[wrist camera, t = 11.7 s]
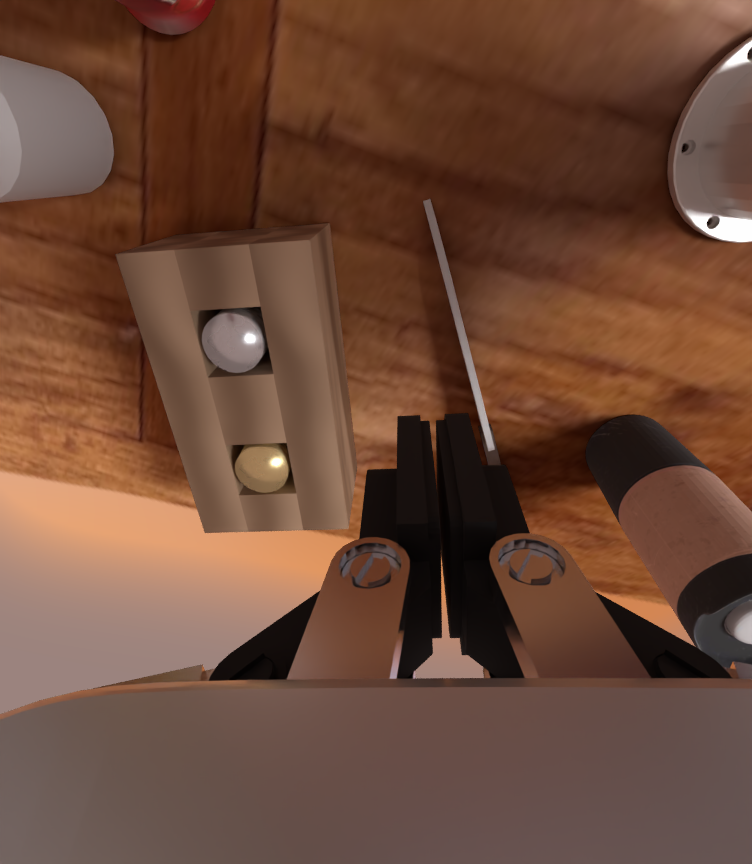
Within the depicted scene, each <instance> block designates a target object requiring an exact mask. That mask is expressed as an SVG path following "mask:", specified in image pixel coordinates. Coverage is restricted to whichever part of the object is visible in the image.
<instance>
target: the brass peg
mask: <svg viewBox="0 0 752 864" xmlns="http://www.w3.org/2000/svg"><path fill="white" fill-rule="evenodd" d="M290 469H291V463H290V458H289V453H288V447H287V443H268V444H245V446H244V448H243V449H242V451H241V453H240V455H239V457H238V458H237V460H236V463H235V472H236V475H237V477H238V479H239V480H240V481H241V483H242V484H244V485H245V486H246V487H248V488H249V489H251V490H254V491H257V492H262V493H268V492H273V491H276V490H278V489H280V488H281V487H282V486H283V485H284V484H285V482H286V480H287V477H288V475H289V472H290Z"/></svg>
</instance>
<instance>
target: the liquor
mask: <svg viewBox="0 0 752 864" xmlns="http://www.w3.org/2000/svg"><path fill="white" fill-rule="evenodd" d="M115 1H117V2H119V3H121V4H123V5H124V6H125V7H126V8H127V9H128V11H129V12H130V13H131V14H132V15H133V16H134V17H135V18H136V19H137V20H138V21H139V22H141V23H142V24H144V25H145V26H147V27H148V28H150V29H152V30H155V31H157V32H159V33H164V34H169V35H175V34H183V33H186V32H189V31H192V30H193V29H194V28H196V27H197V26H199V25H200V24H201V23H202V22H203V21H204V20H205V19H206V17H207V16H208V15H209V13H210V11H211V9H212V8H213V6H214V3H215V0H115Z"/></svg>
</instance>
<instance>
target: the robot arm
mask: <svg viewBox="0 0 752 864" xmlns="http://www.w3.org/2000/svg"><path fill="white" fill-rule="evenodd" d="M748 52H749V57H748V59H747V53H748ZM683 144H684V145H685V149H684V151H683V152H682V146H683ZM667 175H668V183H669V191H670V194H671V197H672V200H673V203H674V205H675V208H676V209H677V211H678V212H679V214H680V215H681V217H682V218H683V220H684V221H685V222H686V223H688V224H689V225H690V226H691V227H692V228H693V229H694V230H696V231H698V232H700V233H701V234H703V235H705V236H707V237H710V238H714V239H717V240H721V241H727V242H735V243H745V242H752V37H750V38H748V39H747V40H745V41H744V42H743V43H741V44H740V45H739V46H737V47H736V48H735V49H733V50H732V51H730V52H729V53H728V54H727V55H726V56H725V57H724V58H723V59H722V60H720V61H719V62H718V63H717V64H716V65H715V66H714V67H713V68H712V69H711V70H710V71H709V72H708V74H707V75H706V76H705V78H704V79H703V80H702V82H701V83H700V84H699V85H698V87H697V88H696V89H695V91H694V92H693V94H692V96H691V97H690V99H689V101H688V103H687V104H686V106H685V108H684V109H683V111H682V113H681V116H680V118H679V121H678V123H677V126H676V128H675V131H674V133H673V137H672V141H671V146H670V150H669V154H668V170H667ZM708 219H709V222H708V224H706V223H707V221H708ZM436 452H437V488H436V479H435V469H434V460H433V451H432V442H431V433H430V423H429V421H420V415H416V416H398V427H397V469H373V470H367V475H366V484H365V493H364V502H363V511H362V520H361V529H360V538H359V539H358V540H354V541H352V542H350V543H348V544H347V545H345V546H343V547H342V548H341V549H340V550H339V551H338V552H337V553H336V554H335V556H334V558H333V559H332V561H331V564H330V566H329V569H328V572H327V574H326V577H325V580H324V582H323V585H322V588H321V590H320V591H319V592H317V593H316V594H314V595H313V596H312V597H310V598H309V599H307V600H306V601H304V602H303V603H302V604H300V605H299V606H298V607H296V608H294V609H293V610H292V611H290V612H289V613H287V614H286V615H284V616H283V617H282V618H280V619H279V620H277V621H276V622H274V623H273V624H272V625H270V626H269V627H267V628H266V629H264V630H263V631H262V632H260V633H259V634H257V635H256V636H255V637H253V638H252V639H250V640H249V641H248V642H246V643H245V644H243V645H242V646H240V647H239V648H237V649H236V650H234V651H233V652H232V653H230V654H229V655H228V656H227V657H226V658H225V659H223V661H222V662H220V663H219V664H218V666H217V667H216V668H215V669H210V670H206V671H205V669H204V667H203V665H198V666H193V667H189V668H184V669H180V670H175V671H170V672H166V673H162V674H157V675H153V676H148V677H143V678H139V679H134V680H130V681H125V682H120V683H116V684H112V685H107V686H102V687H98V688H93V689H88V690H81V691H76V692H72V693H68V694H64V695H60V696H55V697H51V698H47V699H43V700H39V701H37V702H34V703H31V704H28V705H25V706H22V707H20V708H17V709H14V710H11V711H8V712H5V713H2V714H0V864H752V665H751V664H745V663H740V662H734V661H733V662H732V665H731V667H730V668H727V667H722V666H721V665H720V664H719V663H718V662H717V661H716V660H715V659H713V658H712V657H710V656H709V655H707V654H706V653H704V652H703V651H701V650H700V649H698V648H696V647H695V646H693V645H691V644H689V643H687V642H685V641H683V640H682V639H680V638H678V637H676V636H675V635H673V634H671V633H669V632H667V631H665V630H664V629H662V628H660V627H658V626H656V625H654V624H653V623H651V622H649V621H647V620H645V619H644V618H642V617H640V616H638V615H636V614H635V613H633V612H631V611H629V610H627V609H625V608H624V607H622V606H620V605H618V604H616V603H614V602H612V601H611V600H609V599H607V598H606V597H604V596H602V595H600V594H598V593H596V592H595V591H594V590H593V588H592V587H591V585H590V584H589V582H588V581H587V579H586V577H585V576H584V574H583V573H582V571H581V570H580V568H579V567H578V565H577V564H576V562H575V561H574V559H573V558H572V556H571V555H570V554H569V553H568V551H567V550H566V549H565V548H564V547H563V546H561V545H560V544H558V543H557V542H555V541H554V540H551V539H549V538H546V537H544V536H541V535H535V534H530V532H529V530H528V527H527V524H526V521H525V518H524V515H523V512H522V509H521V507H520V504H519V501H518V498H517V495H516V492H515V489H514V486H513V484H512V481H511V478H510V475H509V472H508V469H507V467H506V465H482V463H481V459H480V456H479V452H478V448H477V444H476V441H475V437H474V433H473V430H472V426H471V422H470V418H469V415H468V413H460V414H445V418H444V420H436ZM441 556H442V566H443V576H444V584H445V595H446V605H447V615H448V624H449V633H450V638H460V644H461V652H462V655H469V656H470V657H471V658H473V659H474V660H475V661H476V662H478V663H479V664H480V665H481V666H483V674H484V678H446V679H445V678H444V679H443V678H438V679H437V678H433V679H432V678H431V679H416V669H417V668H418V667H419V666H420V665H421V664H422V663H423V662H425V661H426V660H427V659H428V658H429V657H430V656H431V655H432V653H433V647H432V638H442V621H441V620H442V615H441V614H442V613H441Z"/></svg>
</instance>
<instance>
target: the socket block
mask: <svg viewBox="0 0 752 864" xmlns="http://www.w3.org/2000/svg"><path fill="white" fill-rule="evenodd" d="M115 255H116V258H117V261H118V264H119V268H120V271H121V274H122V277H123V280H124V283H125V286H126V289H127V292H128V296H129V299H130V302H131V305H132V308H133V311H134V314H135V317H136V320H137V323H138V327H139V330H140V333H141V336H142V339H143V342H144V345H145V348H146V351H147V355H148V358H149V361H150V364H151V367H152V370H153V373H154V376H155V379H156V382H157V386H158V389H159V392H160V395H161V398H162V401H163V404H164V407H165V410H166V414H167V417H168V420H169V423H170V426H171V429H172V432H173V435H174V438H175V442H176V445H177V448H178V451H179V454H180V457H181V460H182V463H183V466H184V469H185V473H186V476H187V479H188V482H189V485H190V488H191V491H192V494H193V497H194V501H195V504H196V507H197V510H198V513H199V516H200V519H201V522H202V525H203V528H204V532H205V533H219V532H253V531H254V532H255V531H291V530H328V529H348V528H349V521H350V514H351V507H352V500H353V493H354V486H355V479H356V472H357V461H356V452H355V444H354V435H353V426H352V417H351V408H350V399H349V390H348V381H347V372H346V363H345V354H344V345H343V336H342V327H341V319H340V310H339V301H338V292H337V283H336V274H335V265H334V256H333V247H332V238H331V229H330V223H324V224H311V225H298V226H285V227H272V228H259V229H246V230H233V231H220V232H207V233H194V234H181V235H174V236H171V237H168V238H165V239H161V240H158V241H155V242H152V243H149V244H146V245H143V246H140V247H136V248H133V249H130V250H127V251H124V252H121V253H118V254H115ZM245 307H261V312H262V317H263V322H264V327H265V333H266V338H267V343H268V350H267V351H266V352H265V354H264V355H263V357H262V358H261V359H260V361H259V362H258V364H257V365H256V366H255V367H253V368H252V369H250V370H248V371H246V372H241V373H233V372H228V371H225V370H223V369H221V368H219V367H218V366H216V365H215V364H214V363H213V362H212V361H211V360H210V359H209V358H208V356H207V355H206V353H205V351H204V348H203V345H202V333H203V330H204V327H205V326H206V324H207V323H208V322H209V321H210V320H211V319H212V318H213V317H214V316H216V315H217V314H218V313H219V312H221V311H222V310H223V309H230V308H245ZM268 443H287V447H288V453H289V458H290V463H291V469H290V472H289V475H288V477H287V480H286V482H285V484H284V485H283V486H282V487H281V488H280V489H278V490H276V491H273V492H268V493H262V492H257V491H254V490H251V489H249V488H248V487H246V486H245V485H244V484H242V483H241V481H240V480H239V479H238V477H237V475H236V472H235V463H236V460H237V458H238V457H239V455H240V453H241V451H242V449H243V448H244V446H245V444H268Z"/></svg>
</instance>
